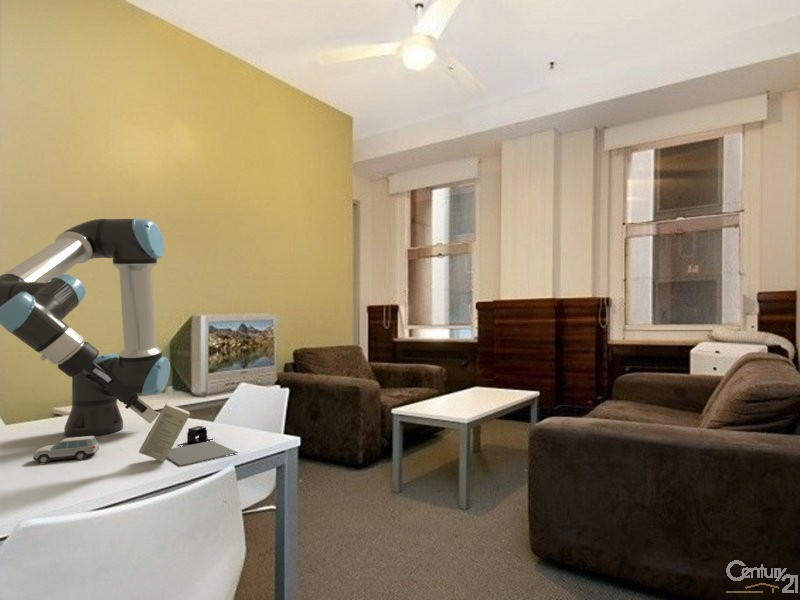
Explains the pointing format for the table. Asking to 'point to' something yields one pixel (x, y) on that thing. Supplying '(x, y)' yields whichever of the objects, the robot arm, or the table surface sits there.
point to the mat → (198, 453)
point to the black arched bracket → (194, 433)
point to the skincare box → (164, 432)
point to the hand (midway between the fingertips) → (153, 418)
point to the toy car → (68, 449)
